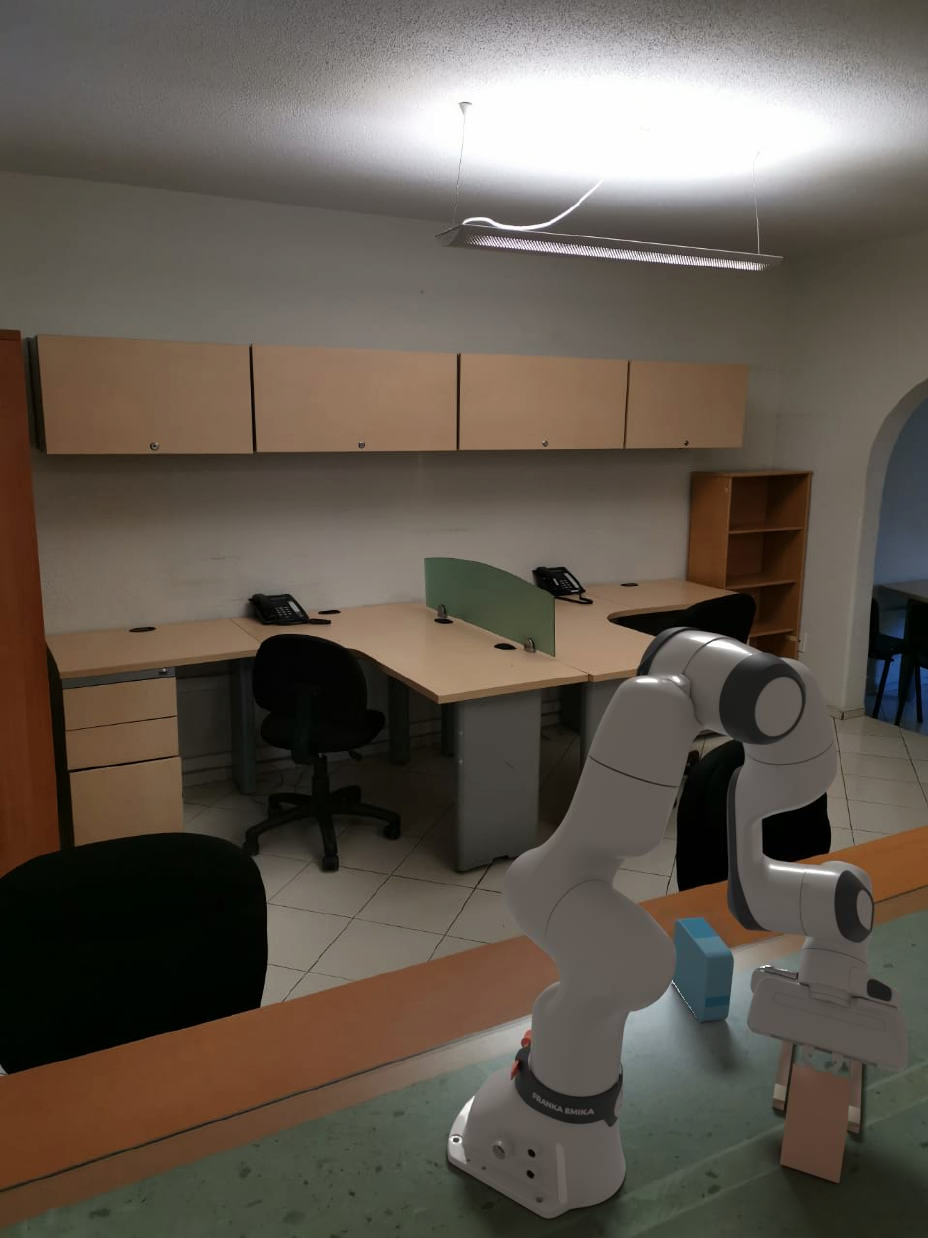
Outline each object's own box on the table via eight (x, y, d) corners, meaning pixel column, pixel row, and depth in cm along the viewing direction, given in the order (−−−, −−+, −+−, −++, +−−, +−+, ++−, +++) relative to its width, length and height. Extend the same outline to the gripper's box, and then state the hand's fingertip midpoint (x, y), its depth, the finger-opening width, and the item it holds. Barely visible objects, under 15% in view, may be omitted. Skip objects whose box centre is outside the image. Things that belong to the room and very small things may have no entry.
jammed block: (779, 1164, 118) (787, 1103, 116) (785, 1120, 125) (793, 1063, 123) (839, 1183, 115) (848, 1122, 113) (841, 1138, 122) (850, 1079, 120)
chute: (772, 1107, 128) (773, 1097, 127) (787, 1010, 148) (788, 1002, 148) (858, 1133, 124) (859, 1124, 123) (862, 1030, 144) (863, 1021, 144)
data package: (728, 1023, 145) (735, 955, 142) (701, 1027, 144) (708, 958, 141) (694, 977, 156) (700, 913, 153) (668, 980, 155) (674, 915, 152)
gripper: (753, 955, 131) (736, 1059, 124) (914, 996, 123) (905, 1109, 116) (754, 966, 136) (738, 1067, 129) (908, 1006, 128) (899, 1115, 121)
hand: (818, 1087), depth 123 cm, fingers closed, pressing on jammed block
